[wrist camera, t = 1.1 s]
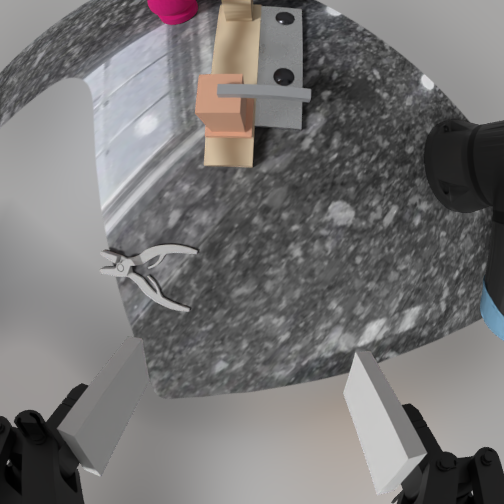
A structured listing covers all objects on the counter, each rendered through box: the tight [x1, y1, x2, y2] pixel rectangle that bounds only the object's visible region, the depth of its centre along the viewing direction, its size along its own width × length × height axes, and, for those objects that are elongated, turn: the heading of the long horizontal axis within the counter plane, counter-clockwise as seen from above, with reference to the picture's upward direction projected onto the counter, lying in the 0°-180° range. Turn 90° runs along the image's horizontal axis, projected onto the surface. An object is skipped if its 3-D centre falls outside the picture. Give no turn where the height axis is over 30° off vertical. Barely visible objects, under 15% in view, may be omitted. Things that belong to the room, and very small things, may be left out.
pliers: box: [100, 244, 198, 312], centre depth 38 cm, size 10×2×15 cm
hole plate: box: [255, 6, 303, 131], centre depth 30 cm, size 6×21×1 cm, turn 177°
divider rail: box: [204, 0, 261, 168], centre depth 25 cm, size 11×26×13 cm, turn 177°
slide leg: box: [195, 74, 311, 139], centre depth 25 cm, size 11×5×11 cm, turn 87°
